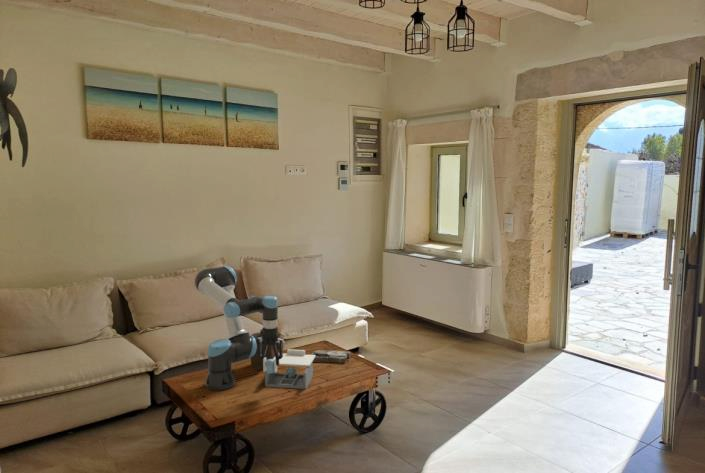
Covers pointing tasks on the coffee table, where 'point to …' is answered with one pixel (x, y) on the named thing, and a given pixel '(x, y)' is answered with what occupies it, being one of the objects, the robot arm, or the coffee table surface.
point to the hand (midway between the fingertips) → (270, 370)
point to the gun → (331, 356)
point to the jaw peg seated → (291, 372)
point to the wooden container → (257, 361)
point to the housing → (289, 379)
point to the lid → (296, 358)
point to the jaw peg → (269, 365)
